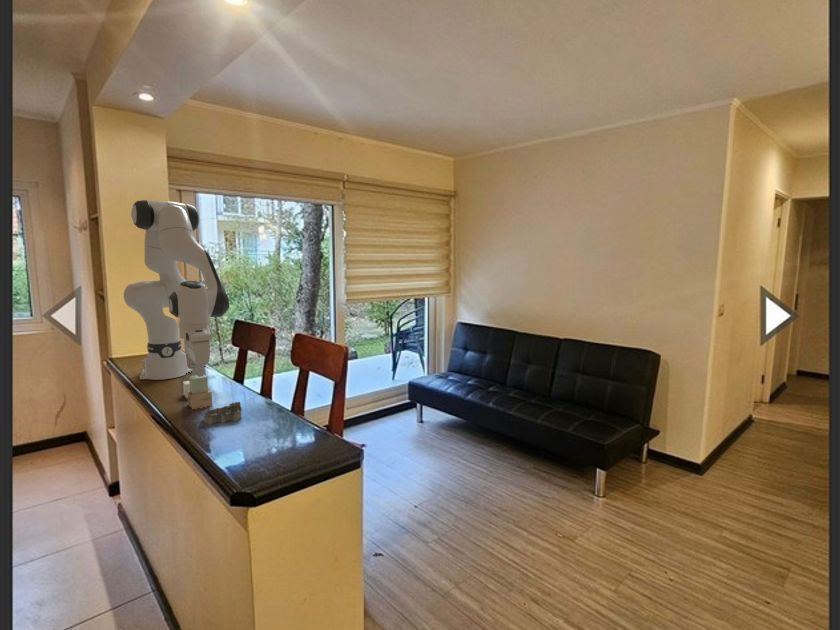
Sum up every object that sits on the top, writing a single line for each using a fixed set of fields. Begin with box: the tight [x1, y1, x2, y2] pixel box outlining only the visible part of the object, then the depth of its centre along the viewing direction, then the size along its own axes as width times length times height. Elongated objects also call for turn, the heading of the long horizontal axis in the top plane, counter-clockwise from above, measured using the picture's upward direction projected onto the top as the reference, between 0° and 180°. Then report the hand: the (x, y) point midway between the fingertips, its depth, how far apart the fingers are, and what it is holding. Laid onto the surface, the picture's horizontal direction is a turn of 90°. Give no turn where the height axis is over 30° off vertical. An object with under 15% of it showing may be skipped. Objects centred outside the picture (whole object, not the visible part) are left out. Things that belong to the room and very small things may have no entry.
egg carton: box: [203, 401, 243, 425], centre depth 137 cm, size 11×8×4 cm
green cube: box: [188, 374, 209, 394], centre depth 147 cm, size 4×4×5 cm
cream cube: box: [182, 380, 190, 399], centre depth 158 cm, size 4×4×5 cm
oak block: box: [187, 388, 213, 411], centre depth 148 cm, size 6×6×5 cm
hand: (197, 372), depth 147 cm, fingers open, 8 cm apart
